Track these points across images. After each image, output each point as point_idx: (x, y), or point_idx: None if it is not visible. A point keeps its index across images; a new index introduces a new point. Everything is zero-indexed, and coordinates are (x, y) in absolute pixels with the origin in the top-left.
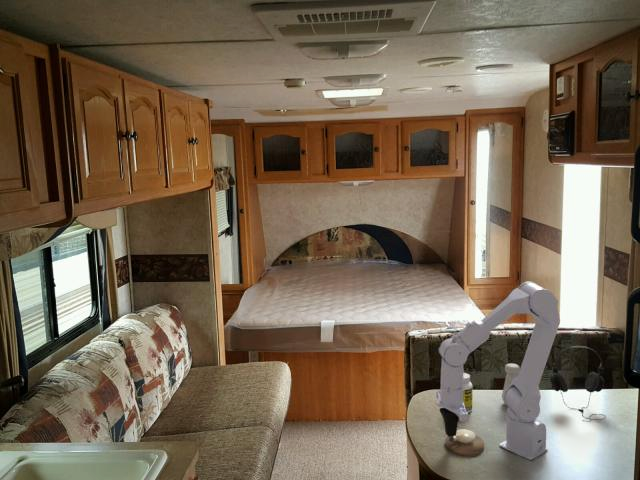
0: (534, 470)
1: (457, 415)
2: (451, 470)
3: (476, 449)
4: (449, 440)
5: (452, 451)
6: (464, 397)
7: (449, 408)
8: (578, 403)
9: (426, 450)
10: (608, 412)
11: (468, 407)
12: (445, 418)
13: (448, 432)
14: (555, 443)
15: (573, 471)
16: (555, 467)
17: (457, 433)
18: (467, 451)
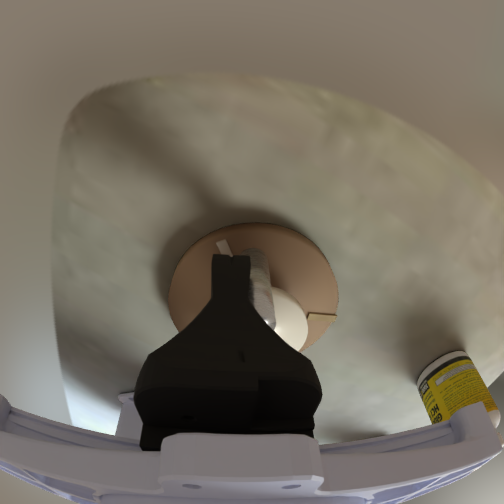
0: (76, 376)
1: (68, 426)
2: (84, 155)
3: (179, 319)
4: (245, 251)
5: (220, 230)
6: (442, 413)
7: (60, 467)
8: None
9: (287, 117)
10: None
11: (423, 393)
12: (179, 337)
13: (211, 271)
14: None
15: (79, 416)
16: (91, 407)
17: (278, 314)
18: (171, 283)
